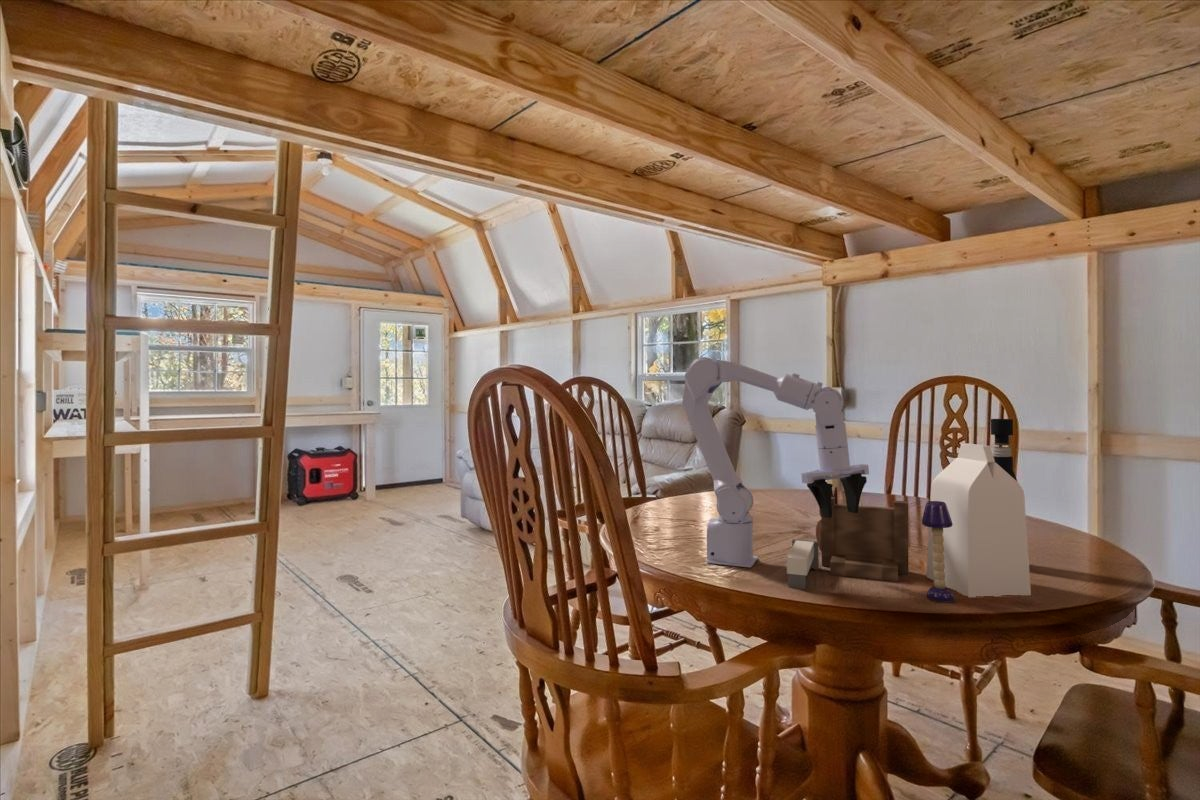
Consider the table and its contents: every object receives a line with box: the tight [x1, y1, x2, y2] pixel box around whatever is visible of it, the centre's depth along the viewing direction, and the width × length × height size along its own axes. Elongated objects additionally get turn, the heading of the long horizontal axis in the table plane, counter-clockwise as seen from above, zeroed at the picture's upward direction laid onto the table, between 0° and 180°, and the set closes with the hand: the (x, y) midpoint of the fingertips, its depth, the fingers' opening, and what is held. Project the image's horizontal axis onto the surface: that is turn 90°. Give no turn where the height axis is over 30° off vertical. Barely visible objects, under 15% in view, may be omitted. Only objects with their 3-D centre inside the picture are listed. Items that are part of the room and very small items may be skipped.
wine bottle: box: [990, 418, 1018, 482], centre depth 125 cm, size 6×6×30 cm
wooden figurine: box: [815, 486, 840, 553], centre depth 135 cm, size 7×6×15 cm
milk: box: [925, 442, 1032, 598], centre depth 112 cm, size 12×12×26 cm
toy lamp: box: [921, 501, 955, 603], centre depth 105 cm, size 5×5×17 cm
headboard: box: [820, 497, 909, 582], centre depth 120 cm, size 16×8×14 cm, turn 65°
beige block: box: [786, 538, 819, 590], centre depth 118 cm, size 5×15×6 cm, turn 155°
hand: (840, 514), depth 121 cm, fingers open, 6 cm apart
